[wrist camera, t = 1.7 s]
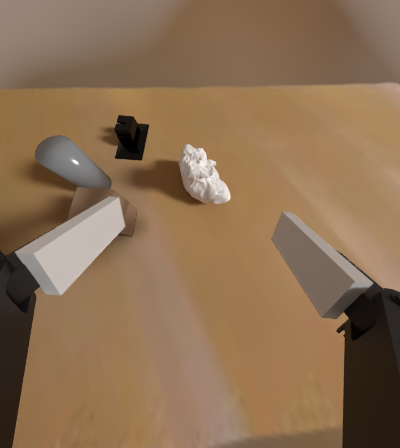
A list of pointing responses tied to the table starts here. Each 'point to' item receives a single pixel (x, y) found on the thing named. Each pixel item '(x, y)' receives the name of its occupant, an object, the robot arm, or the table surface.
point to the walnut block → (92, 196)
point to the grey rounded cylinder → (71, 163)
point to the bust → (202, 177)
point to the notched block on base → (130, 138)
